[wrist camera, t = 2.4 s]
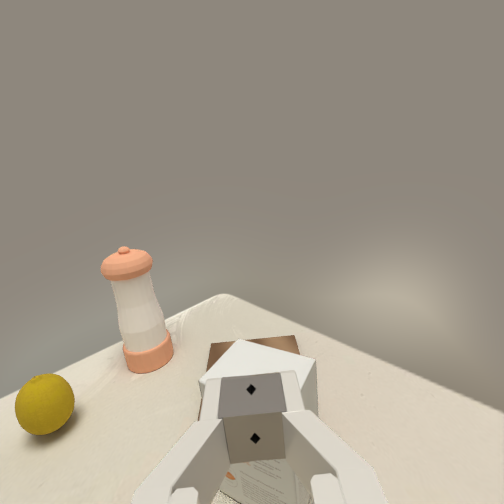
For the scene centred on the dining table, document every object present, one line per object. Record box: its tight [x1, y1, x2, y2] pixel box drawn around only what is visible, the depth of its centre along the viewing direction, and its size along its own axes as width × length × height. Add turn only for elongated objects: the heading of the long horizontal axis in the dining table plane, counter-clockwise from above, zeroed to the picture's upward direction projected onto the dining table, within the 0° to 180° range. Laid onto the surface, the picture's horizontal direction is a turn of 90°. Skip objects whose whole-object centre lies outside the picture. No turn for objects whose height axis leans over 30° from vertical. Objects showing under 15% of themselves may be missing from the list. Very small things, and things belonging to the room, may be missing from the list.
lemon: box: [15, 374, 75, 435], centre depth 33 cm, size 6×6×8 cm
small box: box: [199, 339, 318, 504], centre depth 25 cm, size 8×6×13 cm
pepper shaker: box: [101, 247, 173, 373], centre depth 43 cm, size 7×7×19 cm
